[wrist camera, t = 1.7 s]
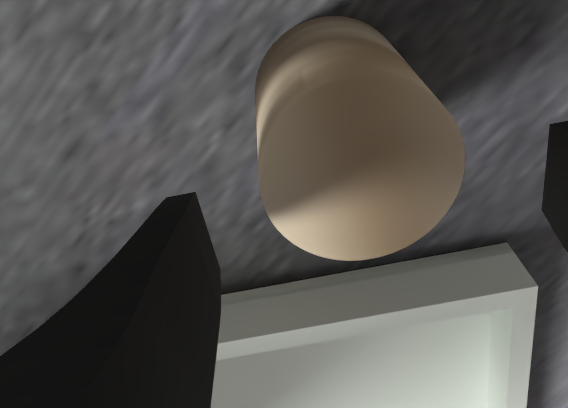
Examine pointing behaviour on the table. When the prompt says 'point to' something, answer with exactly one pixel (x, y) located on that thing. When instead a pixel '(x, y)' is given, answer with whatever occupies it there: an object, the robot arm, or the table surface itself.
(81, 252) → the table surface
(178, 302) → the robot arm
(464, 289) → the tray
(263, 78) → the beige rounded cylinder
